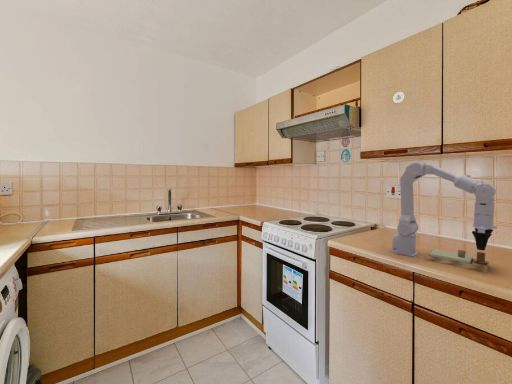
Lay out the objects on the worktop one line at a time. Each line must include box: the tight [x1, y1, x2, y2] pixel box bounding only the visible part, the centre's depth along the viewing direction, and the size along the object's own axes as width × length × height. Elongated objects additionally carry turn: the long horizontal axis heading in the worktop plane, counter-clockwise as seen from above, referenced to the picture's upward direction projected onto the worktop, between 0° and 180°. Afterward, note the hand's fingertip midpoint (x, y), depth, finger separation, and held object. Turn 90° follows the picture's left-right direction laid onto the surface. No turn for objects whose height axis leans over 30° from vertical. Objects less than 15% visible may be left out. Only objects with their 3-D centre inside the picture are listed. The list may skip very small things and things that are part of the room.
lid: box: [429, 248, 474, 264], centre depth 107 cm, size 13×9×4 cm
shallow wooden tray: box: [425, 250, 490, 273], centre depth 106 cm, size 20×10×2 cm, turn 44°
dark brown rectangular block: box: [475, 251, 486, 265], centre depth 101 cm, size 2×2×6 cm
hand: (481, 248), depth 100 cm, fingers open, 7 cm apart
